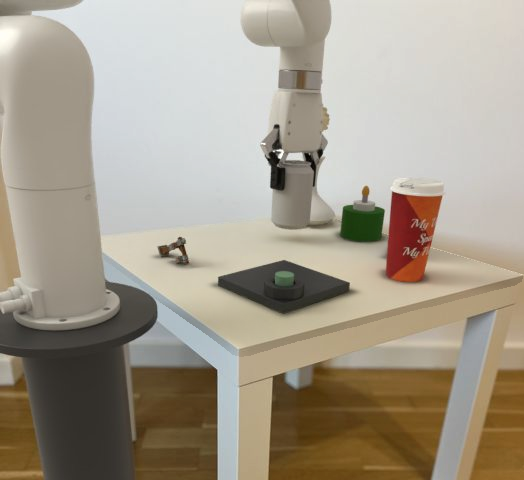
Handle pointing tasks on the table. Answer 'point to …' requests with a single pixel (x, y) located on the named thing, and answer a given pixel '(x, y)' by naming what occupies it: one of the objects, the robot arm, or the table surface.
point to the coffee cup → (412, 226)
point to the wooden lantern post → (179, 244)
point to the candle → (362, 220)
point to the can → (293, 196)
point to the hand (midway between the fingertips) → (292, 187)
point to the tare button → (284, 278)
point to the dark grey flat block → (283, 297)
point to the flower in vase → (319, 207)
